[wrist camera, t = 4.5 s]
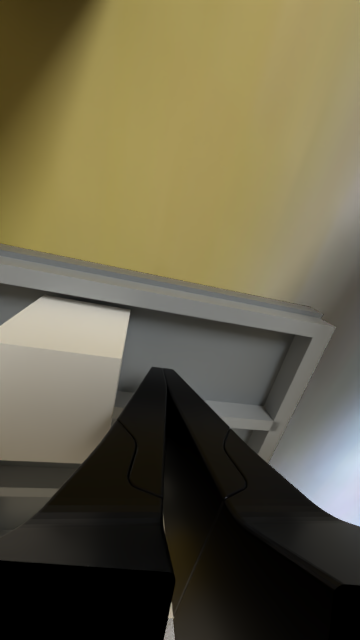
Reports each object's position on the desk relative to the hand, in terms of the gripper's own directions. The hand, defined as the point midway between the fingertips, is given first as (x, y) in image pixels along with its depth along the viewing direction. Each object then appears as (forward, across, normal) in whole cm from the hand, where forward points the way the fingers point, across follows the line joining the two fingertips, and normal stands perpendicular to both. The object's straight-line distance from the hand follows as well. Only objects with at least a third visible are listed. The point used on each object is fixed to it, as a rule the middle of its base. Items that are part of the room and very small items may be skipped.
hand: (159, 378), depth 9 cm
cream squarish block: (+1, +3, 0) cm, 3 cm away
